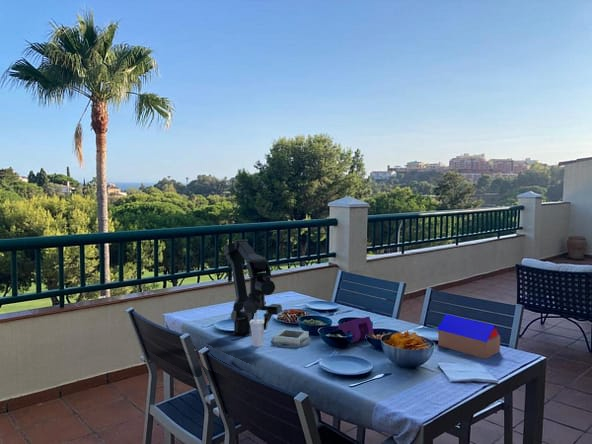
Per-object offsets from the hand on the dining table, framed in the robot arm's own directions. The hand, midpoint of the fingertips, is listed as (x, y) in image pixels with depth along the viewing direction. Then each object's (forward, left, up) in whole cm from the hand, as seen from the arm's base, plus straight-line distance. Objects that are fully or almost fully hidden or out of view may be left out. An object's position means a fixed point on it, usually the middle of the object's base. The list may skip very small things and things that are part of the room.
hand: (257, 329), depth 181 cm
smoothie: (0, 0, -7) cm, 7 cm away
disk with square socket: (+11, +9, -6) cm, 16 cm away
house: (+79, +24, -7) cm, 83 cm away
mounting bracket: (+32, +23, -7) cm, 40 cm away
